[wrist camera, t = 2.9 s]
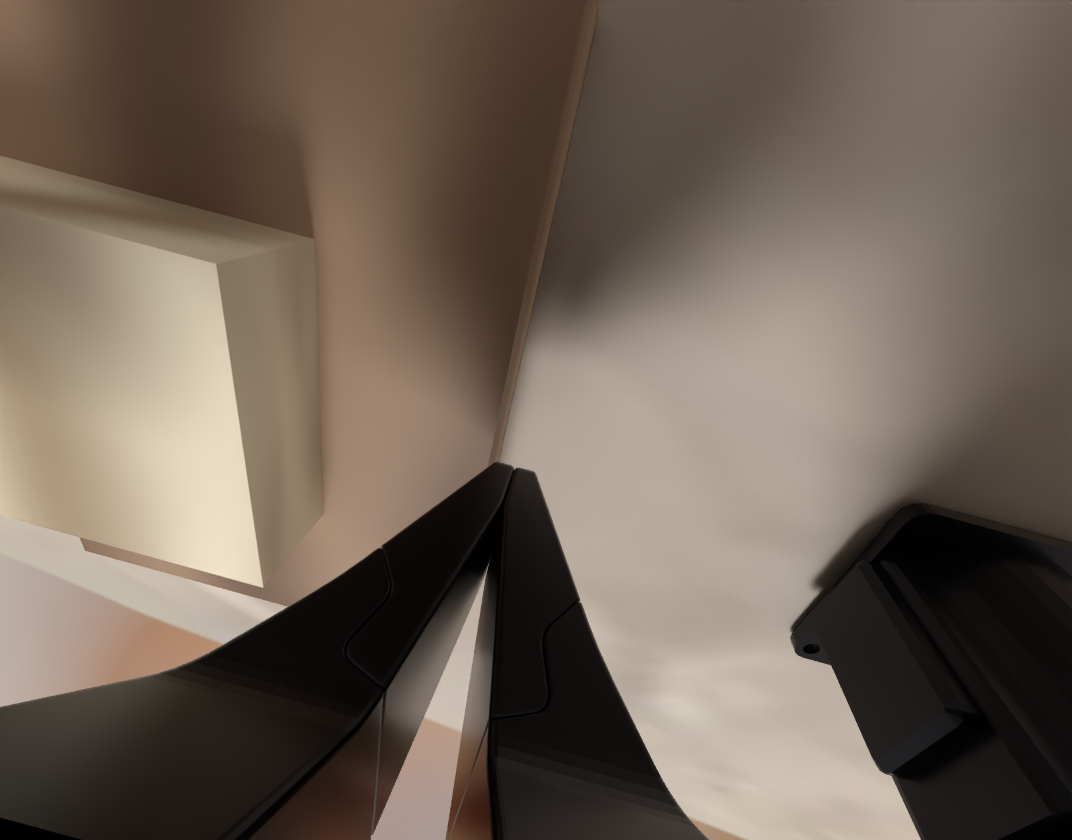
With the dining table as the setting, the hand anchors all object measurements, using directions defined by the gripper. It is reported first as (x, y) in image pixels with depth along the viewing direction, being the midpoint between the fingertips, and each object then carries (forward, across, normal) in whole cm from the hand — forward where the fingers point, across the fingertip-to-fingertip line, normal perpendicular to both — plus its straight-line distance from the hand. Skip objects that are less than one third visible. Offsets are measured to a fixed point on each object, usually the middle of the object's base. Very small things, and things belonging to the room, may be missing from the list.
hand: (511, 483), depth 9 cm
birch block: (+1, +8, 0) cm, 8 cm away
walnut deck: (+4, +7, 0) cm, 8 cm away
